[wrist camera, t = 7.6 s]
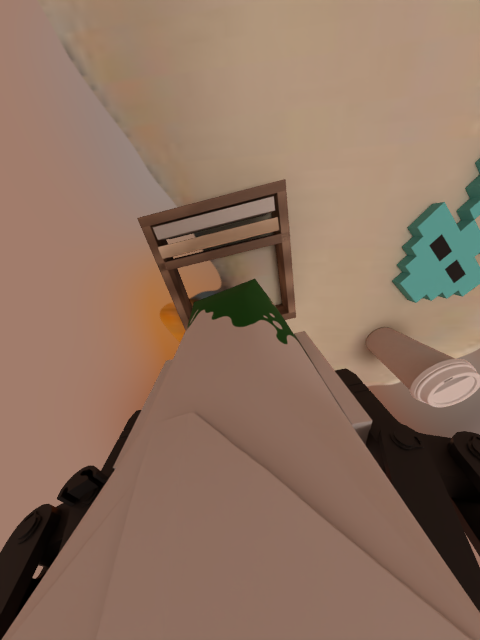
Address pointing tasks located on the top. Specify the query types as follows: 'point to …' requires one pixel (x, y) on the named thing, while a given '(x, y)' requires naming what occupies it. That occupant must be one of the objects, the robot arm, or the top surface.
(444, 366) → the coffee cup
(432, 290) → the alien figure
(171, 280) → the offcut rack
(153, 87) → the top surface
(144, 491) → the soya milk
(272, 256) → the top surface
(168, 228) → the grey offcut
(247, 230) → the birch offcut
